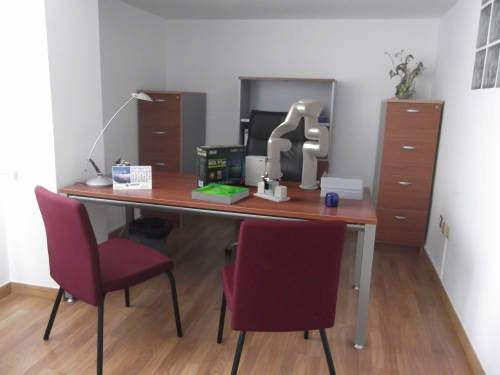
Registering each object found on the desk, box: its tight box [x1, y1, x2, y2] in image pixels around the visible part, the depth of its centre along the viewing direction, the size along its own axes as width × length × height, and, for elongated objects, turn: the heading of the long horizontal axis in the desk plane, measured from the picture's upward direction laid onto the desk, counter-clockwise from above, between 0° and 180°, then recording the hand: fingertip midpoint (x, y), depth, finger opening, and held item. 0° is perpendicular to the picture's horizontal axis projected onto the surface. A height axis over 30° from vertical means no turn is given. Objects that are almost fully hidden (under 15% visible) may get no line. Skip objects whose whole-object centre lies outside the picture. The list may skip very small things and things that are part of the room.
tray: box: [191, 184, 250, 205], centre depth 244 cm, size 25×25×5 cm
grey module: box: [266, 179, 279, 196], centre depth 247 cm, size 5×6×8 cm
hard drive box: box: [244, 155, 267, 187], centre depth 280 cm, size 16×8×20 cm, turn 63°
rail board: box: [253, 182, 291, 203], centre depth 247 cm, size 10×21×8 cm, turn 44°
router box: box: [195, 144, 247, 188], centre depth 277 cm, size 36×11×27 cm, turn 134°
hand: (272, 188), depth 247 cm, fingers open, 9 cm apart
